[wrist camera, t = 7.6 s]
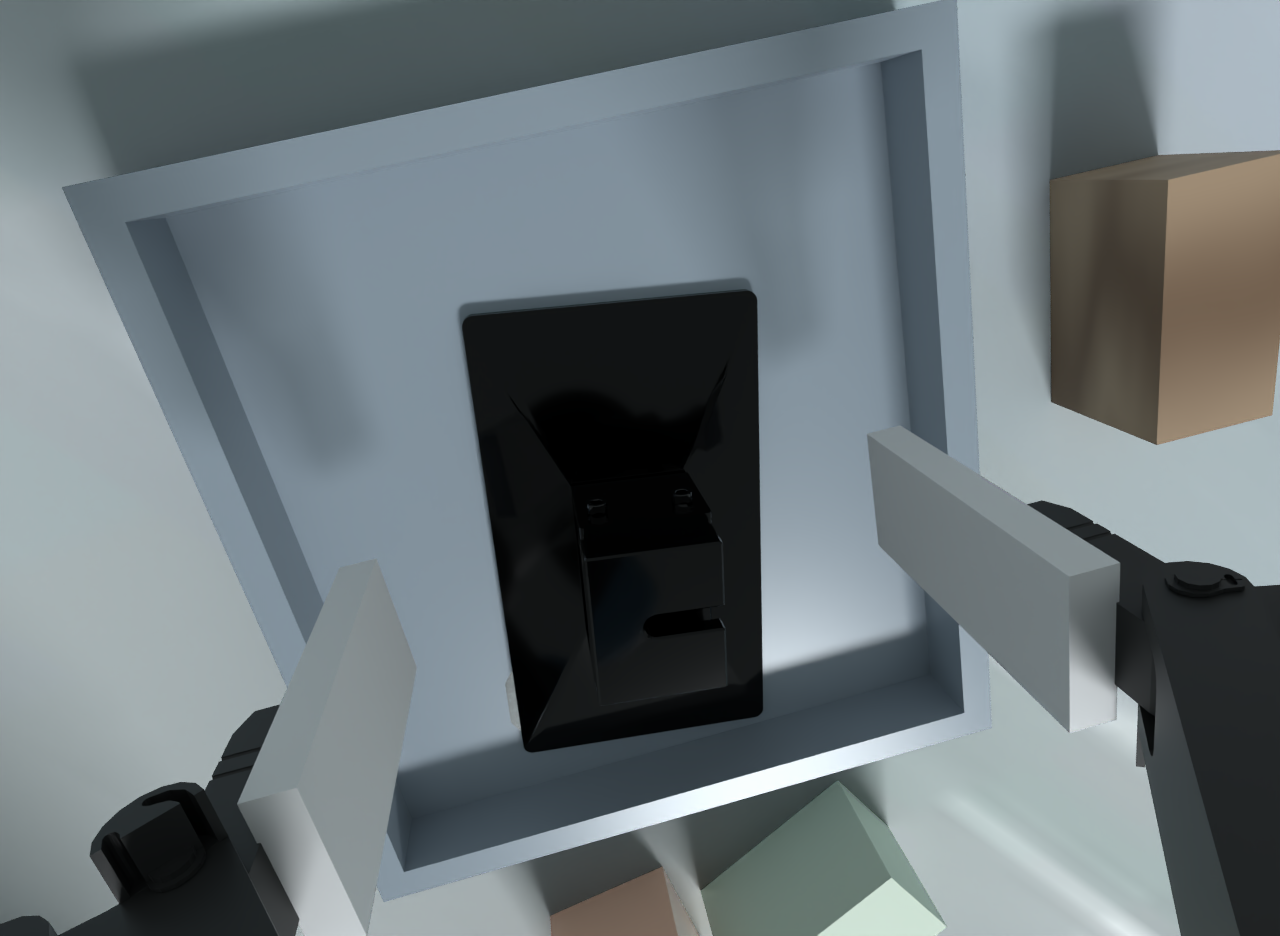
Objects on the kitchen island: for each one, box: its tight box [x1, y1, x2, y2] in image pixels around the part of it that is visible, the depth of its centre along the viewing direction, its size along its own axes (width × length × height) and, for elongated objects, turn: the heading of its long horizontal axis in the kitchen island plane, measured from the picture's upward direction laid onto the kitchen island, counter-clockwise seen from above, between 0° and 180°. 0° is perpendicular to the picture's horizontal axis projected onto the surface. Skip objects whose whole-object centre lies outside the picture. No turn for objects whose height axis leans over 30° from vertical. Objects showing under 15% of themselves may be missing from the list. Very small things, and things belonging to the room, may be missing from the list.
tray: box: [62, 0, 992, 902], centre depth 20 cm, size 18×19×2 cm
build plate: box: [462, 289, 763, 753], centre depth 19 cm, size 12×7×5 cm, turn 4°
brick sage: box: [701, 780, 947, 936], centre depth 25 cm, size 6×3×4 cm, turn 132°
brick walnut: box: [1050, 150, 1280, 445], centre depth 20 cm, size 6×3×4 cm, turn 12°
